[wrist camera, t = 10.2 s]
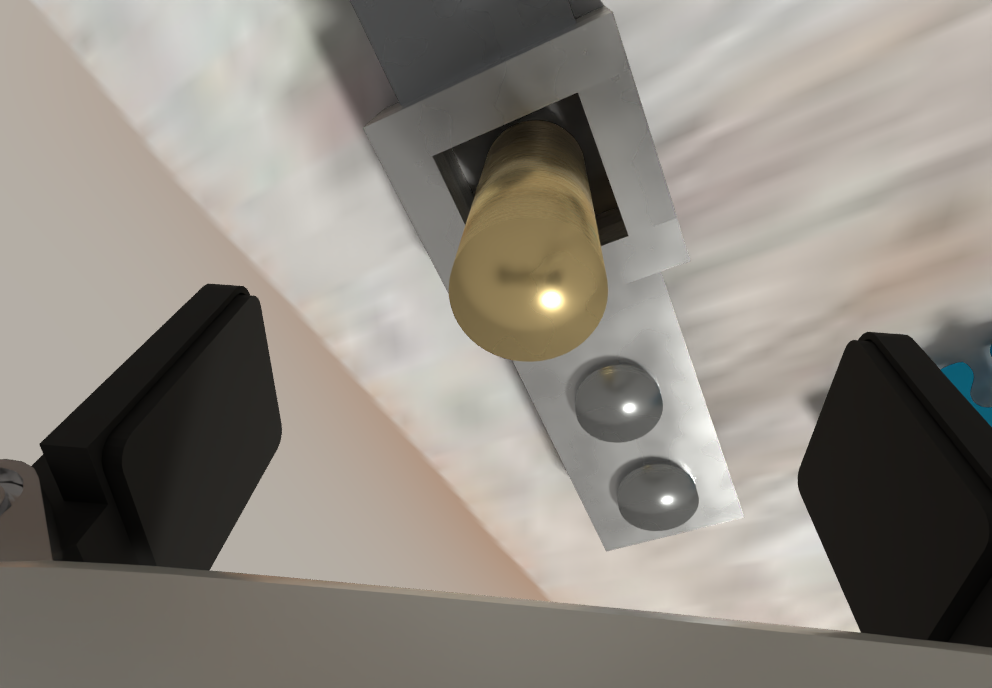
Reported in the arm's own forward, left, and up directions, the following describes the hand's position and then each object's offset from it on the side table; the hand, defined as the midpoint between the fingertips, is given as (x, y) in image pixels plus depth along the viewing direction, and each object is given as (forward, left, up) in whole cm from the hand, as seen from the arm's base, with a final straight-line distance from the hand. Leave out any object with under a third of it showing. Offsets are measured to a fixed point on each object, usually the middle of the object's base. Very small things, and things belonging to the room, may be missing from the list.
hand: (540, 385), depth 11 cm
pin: (+1, 0, -14) cm, 14 cm away
